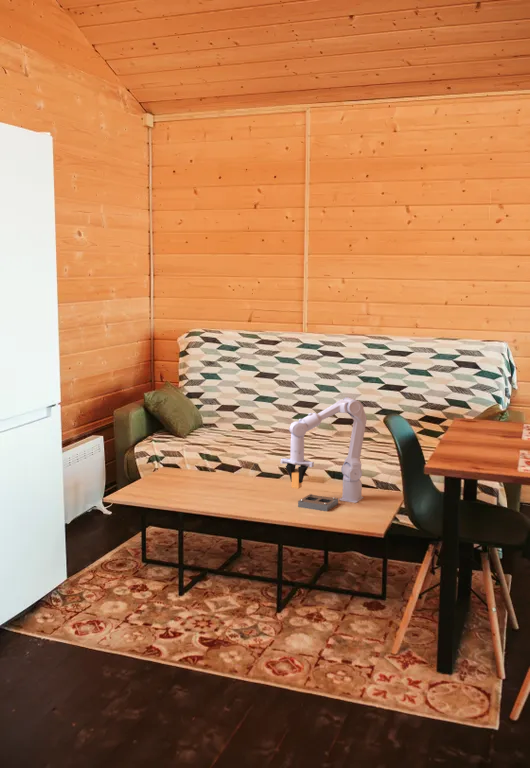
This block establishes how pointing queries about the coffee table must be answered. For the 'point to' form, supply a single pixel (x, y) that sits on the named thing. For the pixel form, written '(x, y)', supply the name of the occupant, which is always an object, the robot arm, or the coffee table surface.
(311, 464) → the robot arm
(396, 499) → the coffee table surface
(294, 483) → the orange rectangular block
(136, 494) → the coffee table surface
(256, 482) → the coffee table surface
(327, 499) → the grey mounting plate
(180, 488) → the coffee table surface
